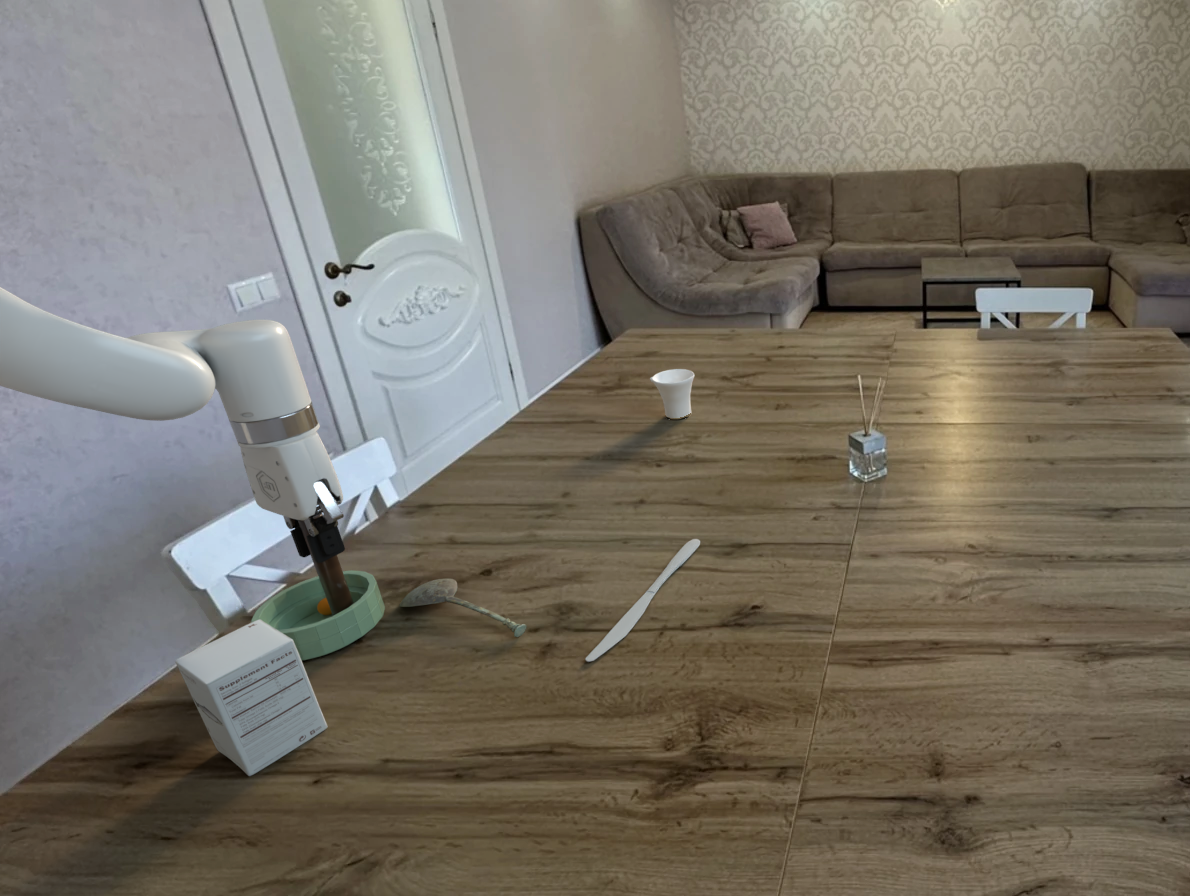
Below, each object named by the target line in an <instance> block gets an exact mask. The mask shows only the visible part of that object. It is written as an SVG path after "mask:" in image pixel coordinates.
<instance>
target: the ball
mask: <svg viewBox="0 0 1190 896" xmlns="http://www.w3.org/2000/svg"><path fill="white" fill-rule="evenodd" d="M317 610H318V612H319V613H320V614H322V615H331V614H332V612H331V609H330V607H329V604H328V601H327V598H324V599H322V600H321V601H320V602H319V603H318V606H317Z"/></svg>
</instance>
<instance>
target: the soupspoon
mask: <svg viewBox="0 0 1190 896" xmlns="http://www.w3.org/2000/svg"><path fill="white" fill-rule="evenodd" d="M457 591H458V581H456V579H453V578H437V579H434V580H429V581H427V582H425V583H423V584H420V585H418V586H417V587H415V588H414V589H412V590H411V591H410V592H408V593H407V594H406V595H405V596H404V598H403V599H402V600H401V601H400V603H399V607H401V608H411V607H419V606H427V605H434V604H439V603H440V604H441V603H451V604H454V605H457V606H461V607H464V608H466V609H469V610H472V611H474V612H477V613H480V614H482V615H485V616H487V617H489V618H491V619H494V620H496V621H498V622H500V623H502V625H503V626H506V627H507V628H508V629H510V630H511V632H512V633H513V636H514V638H519V637H521V636H523V634H524V633H525V631H526V630H527V627H528V626H527V624H525V623H523V624H520V623H516V622H515V621H512V620H511V619H510V618H505V617H504V616H502V615H500V614H498V613H496V612H494V611H491V610H489V609H486V608H484V607H481V606H479V605H477V604H474V603H471V602H469V601H467V600H464V599H461V598H458V597H455V594H456V593H457Z"/></svg>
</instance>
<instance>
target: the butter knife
mask: <svg viewBox="0 0 1190 896" xmlns="http://www.w3.org/2000/svg"><path fill="white" fill-rule="evenodd" d="M700 545H701V539H698V538H692V539H690V540H689V541H687V542H686V543H685V544H684V545H683V546H682V547H681V548H680V549H679V550H678V552H676V554H675V555H674V556H673V557H672V558H671V560H670V561H669V563H667V565H666V567H665V568H664V569H663V570H662V572H661V573H660V575H659V576H658V577H657V578H656V579H655V581H654V582H653V583H652V585H651V586H650V587H649V588H648V589H647V590H646V591H645V593H644V594H643V595H641V597H640V598H639V599H638V600H637V601H636V602H635V603H634V604H633V605H632V606H631V608H629V610H627V612H626V613H625V614H624V615H623V616H622V617H621V618H620V620H619V621H617V623H616V624H615V625H614V626H613V627H612V629H610V630H609V632H608V633H607V634H606V635H605V636H604V637H603V639H602V640H601V641H600V642H599V643H598V644H597V646H595V648H593V650H591V652H590V653H589V654H588V655H587V656H586V657H585V661H586V662H587V663H589V662H594V661H595V660H597V659H598V658H600V657H601V656H602V655H603V654H605V653H606V652H608V650H610V649H611V648H613V647H614V646H615V645H617V643H618V642H620V641H621V640H622V639H623V638H625V637H626V636H627V635H628V634H629V633H630V631H632V629H633V627H634V626H635V625H636V624H637V623H638V621H639V620H640V618H641V617H642V616H643V614H644V613H645V611H646V610H647V608H648V607H649V604H650V602H651V601H652V599H653V598H654V596H655V595H656V594H657V593H658V591H659V590H660V588H661V587H662V585H663V584H664V583H665V582H666V581H667V580H668V579H669V577H670V576H671V575H673V573H674V572H675V571H677V569H678V568H680V567H681V566H682V565H683V564H684V563H685V562H686V561H687V560H688V559H689V558H690V557H691V556H692V555H693V554H694V552H695V551H696V550H697V549H698V548H699V547H700Z"/></svg>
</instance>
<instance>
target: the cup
mask: <svg viewBox="0 0 1190 896" xmlns="http://www.w3.org/2000/svg"><path fill="white" fill-rule="evenodd" d="M694 379H695V373H694V372H693V371H692V370H690V369H687V368H686V369H685V368H673V369H667V370H663V371H660V372H657V373H655V374H654V375H653V376H651V377H650V378H649V381H650V383H652V384H653V385H654V386H655V387H656V389H657V391H658V393H659V395H660V397H661V400H662V403H663V407H664V414H665V415H666V416H667V417H670V418H680V417H684V416H686V415H688V414H690V413H691V414H692V406H691V394H692V393H691V392H692V387H693V386H692V385H693V381H694Z"/></svg>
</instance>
